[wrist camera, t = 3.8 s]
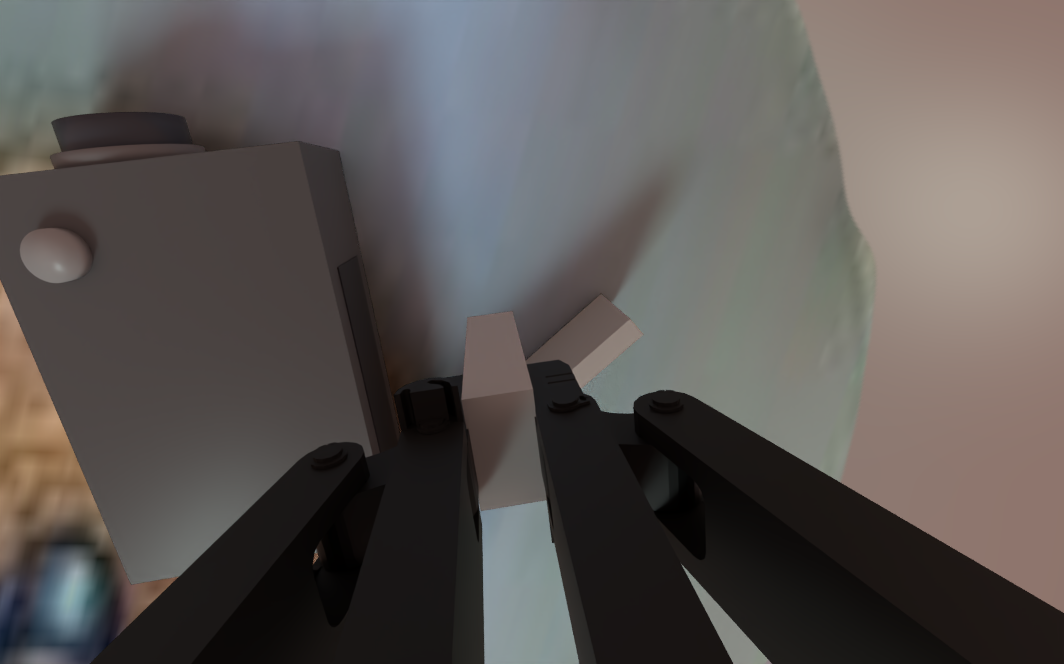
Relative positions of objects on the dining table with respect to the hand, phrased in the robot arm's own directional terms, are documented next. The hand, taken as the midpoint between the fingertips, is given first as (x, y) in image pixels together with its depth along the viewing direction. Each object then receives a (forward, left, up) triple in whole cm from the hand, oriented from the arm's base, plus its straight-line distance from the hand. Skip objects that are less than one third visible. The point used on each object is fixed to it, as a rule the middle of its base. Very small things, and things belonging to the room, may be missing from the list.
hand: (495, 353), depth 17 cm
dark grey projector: (-1, +12, -11) cm, 16 cm away
